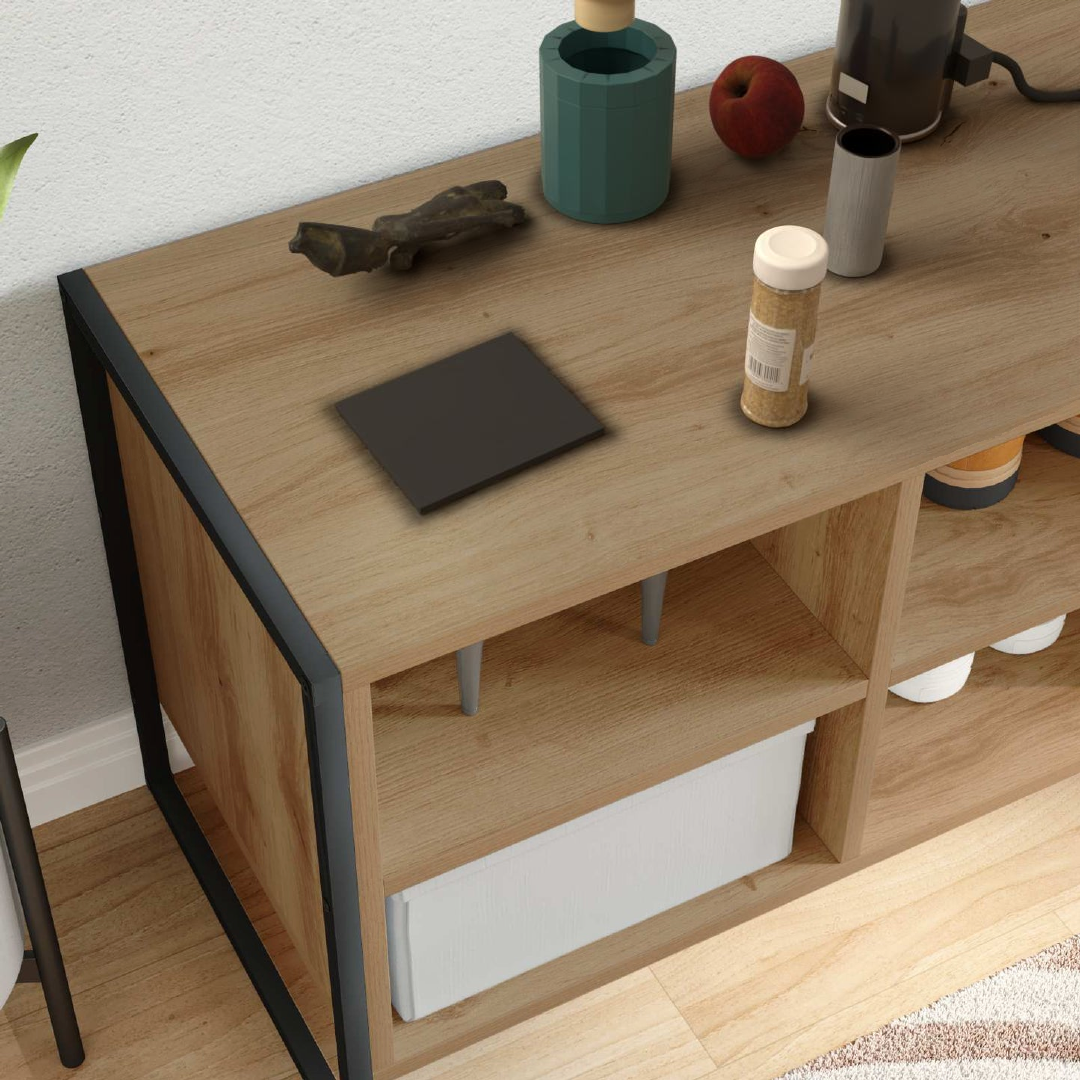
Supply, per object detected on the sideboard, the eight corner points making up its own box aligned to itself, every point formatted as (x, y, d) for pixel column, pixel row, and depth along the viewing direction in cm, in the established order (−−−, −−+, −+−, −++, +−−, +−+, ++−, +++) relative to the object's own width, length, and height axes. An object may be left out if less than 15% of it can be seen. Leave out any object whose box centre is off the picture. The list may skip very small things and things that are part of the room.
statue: (490, 228, 126) (272, 283, 115) (492, 161, 123) (268, 212, 112) (540, 253, 122) (318, 313, 111) (542, 185, 119) (315, 239, 108)
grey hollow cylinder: (842, 284, 116) (861, 164, 108) (807, 252, 118) (823, 132, 111) (893, 266, 117) (914, 146, 110) (857, 235, 120) (876, 115, 112)
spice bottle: (820, 413, 106) (845, 249, 96) (767, 439, 104) (787, 275, 95) (777, 376, 109) (797, 213, 99) (725, 401, 107) (740, 238, 97)
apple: (689, 136, 130) (694, 47, 124) (772, 115, 132) (782, 26, 126) (730, 183, 125) (738, 92, 119) (816, 160, 127) (828, 70, 121)
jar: (622, 138, 130) (626, 2, 121) (694, 197, 124) (702, 58, 115) (519, 176, 126) (514, 38, 117) (587, 238, 120) (588, 98, 111)
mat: (511, 337, 112) (511, 331, 112) (604, 434, 105) (604, 427, 105) (335, 409, 107) (334, 402, 107) (420, 515, 100) (419, 508, 100)
